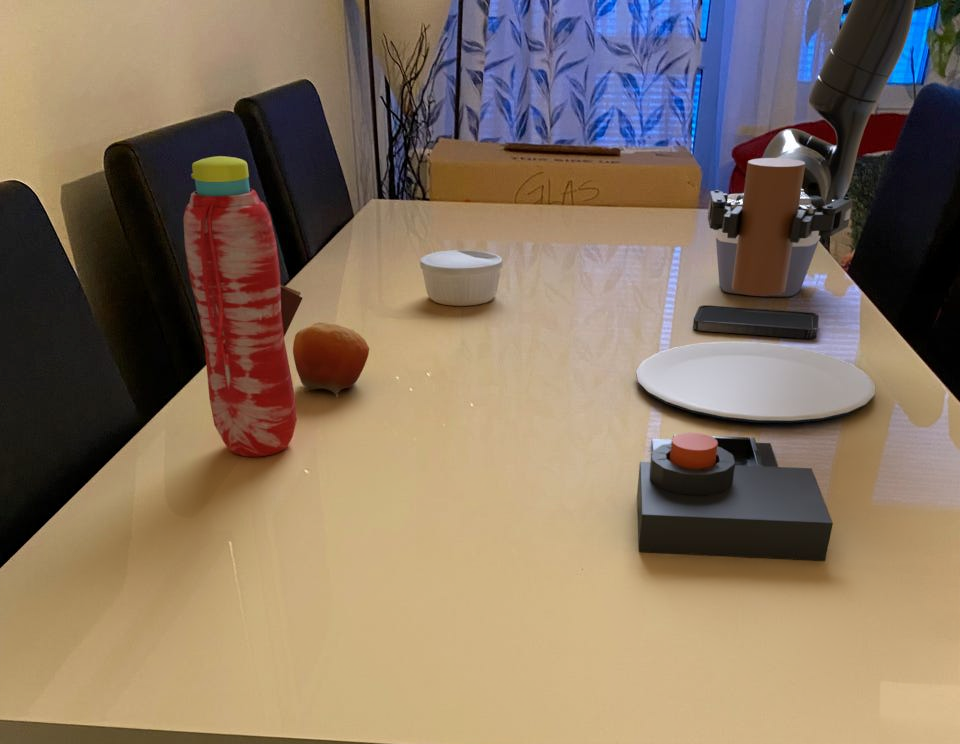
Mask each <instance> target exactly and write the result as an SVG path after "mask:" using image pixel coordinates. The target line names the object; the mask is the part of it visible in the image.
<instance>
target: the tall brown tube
mask: <svg viewBox="0 0 960 744" xmlns="http://www.w3.org/2000/svg"><path fill="white" fill-rule="evenodd" d="M804 170H805V162H803V161H800V160H795V159H786V158H762V157H760V158H752V159H750V160H748V161H747V165H746V171H745V172H746V173H745V181H744V187H743V188H744V189H743V193H744V195H743V203H742V211H741V219H740V227H739V235H738V242H737V250H736V258H735V265H734V273H733V281H732V289H733V290H735V291H737V292H740V293H743V294H749V295H748V296H750V295H761V296H760V297H764V296H766V295H777V294H781V293H783V292H784V291H785V290H786V283H787V277H788V271H789V264H790V258H791V252H792V246H793V243H790V239H791V232H792V226H793V220H794V216H795V215H796V213H797V212H798V208H799V201H800V195H801V189H802V182H803V176H804Z"/></svg>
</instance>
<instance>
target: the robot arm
mask: <svg viewBox="0 0 960 744" xmlns="http://www.w3.org/2000/svg"><path fill="white" fill-rule="evenodd" d="M915 6H916V0H852V2H851V5H850V7H849V9H848V11H847V14H846V15H845V18H844V19H843V20H844V21H843V22H842V24H841V26H840V27H841V28H840V29H839V32H838V33H837V35H836V37H835V40H834V42H833V44H832V46H831V49H830V50H829V51H828V55H827V56H826V59H825V61H824V63H823V65H822V67H821V69H820V71H819V73H818V75H817V77H816V80H815V82H814V83H813V86H812V88H811V90H810V93H809V96H808V103H809V106H810V108H811V109H812V110H813V111H814V113H816V115H818V116H819V117H820V118H822V119H823V120H824V121H825V122H827V123H828V124H829V125H830V127H831V128H832V129H833V130H834V132H835V137H836V144H833V143H830V142H828V141H826V140H823V139H821V138H819V137H817V136H815V135H811V134H810V133H808V132H806V131H804V130H801V129H797V128H785V129H783V130H781V131H779V132H778V133H777V134H776V135H775V136H774V137H773V138H772V139H771V140H770V142H769V143H768V145H767V146H766V148H765V150H764V152H763V153H762V154H763V155H762V156H761V158H786V159H795V160H800V161H803V162H805V170H804V176H803V182H802V189H801V195H800V201H799V208H798V212H797V213H796V215H795V216H794V220H793V226H792V232H791V239H790V243H798V242H799V241H800V239H801V238H808V237H809V236H811V234H812V231H819V234H818V235H819V236H821V238H825V239H827V238H829V237H832V236H834V235H836V234H838V233H840V232H841V231H843V230H844V229H847V228H848V227H849V223H850V219H851V212H852V207H853V202H854V199H853V198H850V197H848V196H846V194H847V193H848V190H849V188H850V185H851V181H852V178H853V174H854V169H855V165H856V162H857V156H858V152H859V148H860V144H861V141H862V138H863V135H864V131H865V128H866V127H867V124H868V121H869V119H870V117H871V116H872V115H871V114H872V113H873V111H874V108H875V106H876V104H877V102H878V101H879V98H880V97H881V94H882V93H883V91H884V88H885V87H886V86H887V83H888V81H889V79H890V77H891V75H892V74H893V72H894V70H895V68H896V66H897V64H898V62H899V60H900V58H901V55H902V53H903V50H904V47H905V45H906V43H907V40H908V37H909V32H910V29H911V24H912V20H913V16H914V11H915V10H914V9H915ZM709 193H710V194H709V203H708V211H707V221H708V225H709V229H711V230H713V231H715V230H719V229H722V232H723V233H728V235H727V238H733V239H735V238H736V237H737V236H738V235H739V227H740V219H741V211H742V203H743V195H744V192H741V193H739V194H740V195H738V197H737V199H736V200H727V199H728V195H729V194H728V193H724V191H721V190H720V189H714V190H711V191H710V192H709Z"/></svg>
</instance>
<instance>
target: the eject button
mask: <svg viewBox="0 0 960 744" xmlns="http://www.w3.org/2000/svg"><path fill="white" fill-rule="evenodd" d="M675 435H676V436H674V437H673V436H672V438H671V440H672V442H671V452H670V462H672V463H673V464H675V465H678V466H682V467H686V468H700V469H702V468H707V467H712V466H714V465H715V463H716V455H717V447H718V442H717V440H716V439H715V438H713V437H711V436H712V435H708V434H704V433H698V432H685V433H679V434H675Z"/></svg>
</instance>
